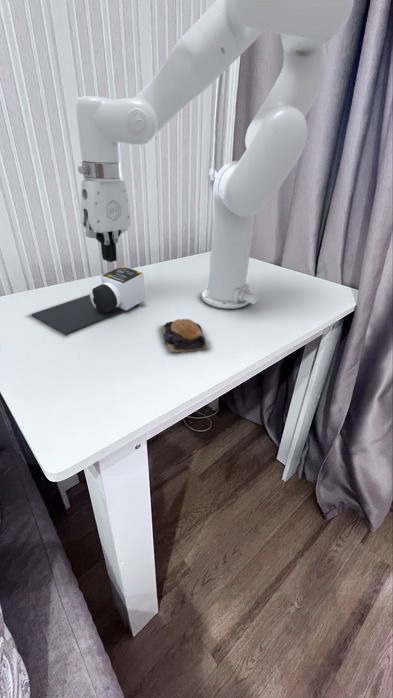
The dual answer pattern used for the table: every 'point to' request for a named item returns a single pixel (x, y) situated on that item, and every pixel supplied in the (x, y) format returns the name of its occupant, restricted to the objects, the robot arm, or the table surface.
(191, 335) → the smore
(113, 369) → the table surface
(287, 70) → the robot arm
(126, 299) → the medicine bottle
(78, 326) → the mat
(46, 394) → the table surface
